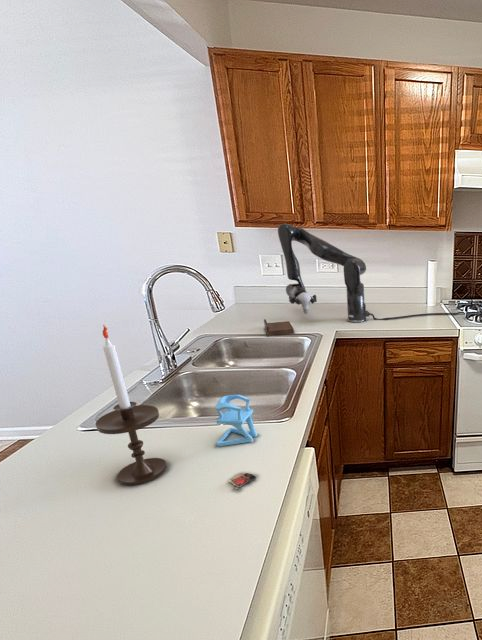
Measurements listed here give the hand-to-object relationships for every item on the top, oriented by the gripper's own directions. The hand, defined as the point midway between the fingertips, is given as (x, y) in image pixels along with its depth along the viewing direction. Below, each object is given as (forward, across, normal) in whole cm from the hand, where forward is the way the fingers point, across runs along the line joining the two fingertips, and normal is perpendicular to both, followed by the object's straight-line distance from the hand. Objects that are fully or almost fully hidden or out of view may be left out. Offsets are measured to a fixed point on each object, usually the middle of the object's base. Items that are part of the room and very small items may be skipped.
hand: (305, 302), depth 197 cm
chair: (+100, -35, +13) cm, 106 cm away
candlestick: (+107, -55, +13) cm, 121 cm away
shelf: (+1, -14, +13) cm, 19 cm away
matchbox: (+119, -35, +13) cm, 124 cm away
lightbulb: (-2, 0, +7) cm, 7 cm away
